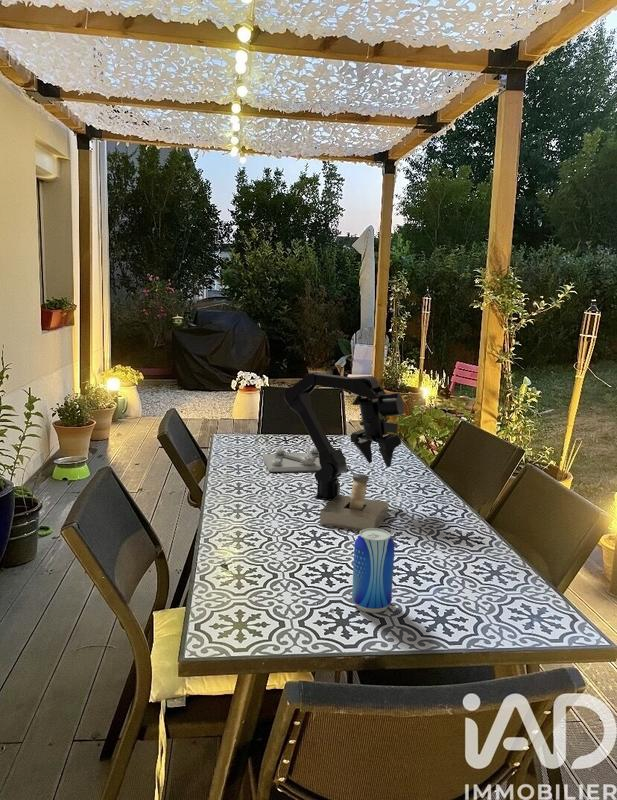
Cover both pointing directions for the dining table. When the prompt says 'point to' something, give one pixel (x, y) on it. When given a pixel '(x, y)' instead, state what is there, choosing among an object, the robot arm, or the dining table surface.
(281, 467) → the grey linkage board
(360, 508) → the ash pin
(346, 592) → the dining table surface
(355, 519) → the grey square block
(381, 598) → the beer can
